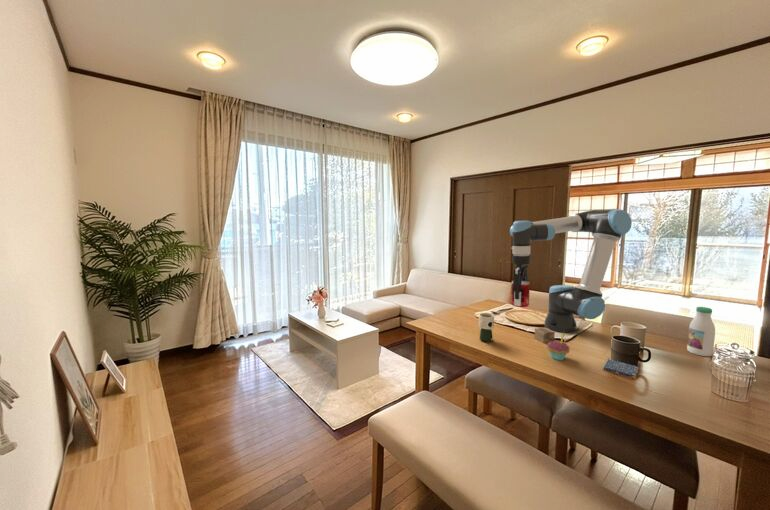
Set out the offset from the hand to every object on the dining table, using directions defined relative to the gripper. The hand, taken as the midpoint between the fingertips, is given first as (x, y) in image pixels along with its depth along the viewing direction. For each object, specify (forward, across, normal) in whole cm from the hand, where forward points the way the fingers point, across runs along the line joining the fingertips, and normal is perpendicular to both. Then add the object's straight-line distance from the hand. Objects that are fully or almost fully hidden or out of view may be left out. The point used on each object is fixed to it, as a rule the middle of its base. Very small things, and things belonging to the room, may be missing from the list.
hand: (520, 303), depth 139 cm
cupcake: (+21, +3, +16) cm, 27 cm away
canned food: (+1, 0, 0) cm, 1 cm away
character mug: (+21, +3, -15) cm, 26 cm away
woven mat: (+22, 0, +38) cm, 44 cm away
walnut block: (+21, -14, +8) cm, 26 cm away
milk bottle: (+22, -37, +64) cm, 77 cm away
